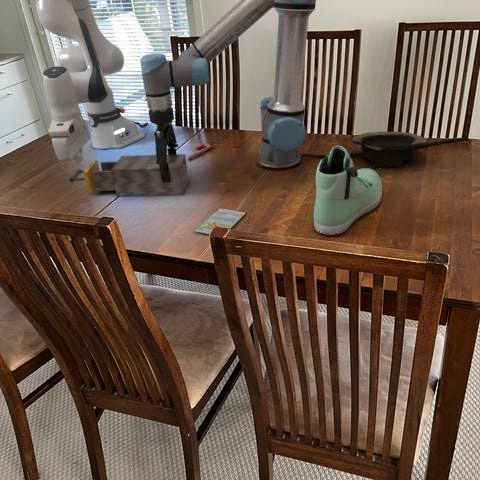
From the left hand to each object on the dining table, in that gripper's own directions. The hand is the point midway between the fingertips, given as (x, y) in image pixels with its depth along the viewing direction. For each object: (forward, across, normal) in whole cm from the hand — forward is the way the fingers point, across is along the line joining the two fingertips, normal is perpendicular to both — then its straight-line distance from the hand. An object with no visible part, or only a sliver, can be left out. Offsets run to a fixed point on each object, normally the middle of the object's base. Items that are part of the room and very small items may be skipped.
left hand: (79, 162), depth 158 cm
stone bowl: (+10, -19, +103) cm, 105 cm away
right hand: (+5, 0, +30) cm, 31 cm away
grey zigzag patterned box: (+10, 0, +24) cm, 26 cm away
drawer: (+9, 0, +10) cm, 13 cm away
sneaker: (+10, +18, +86) cm, 88 cm away
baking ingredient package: (+10, +25, +49) cm, 56 cm away
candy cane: (+10, -30, +34) cm, 46 cm away
